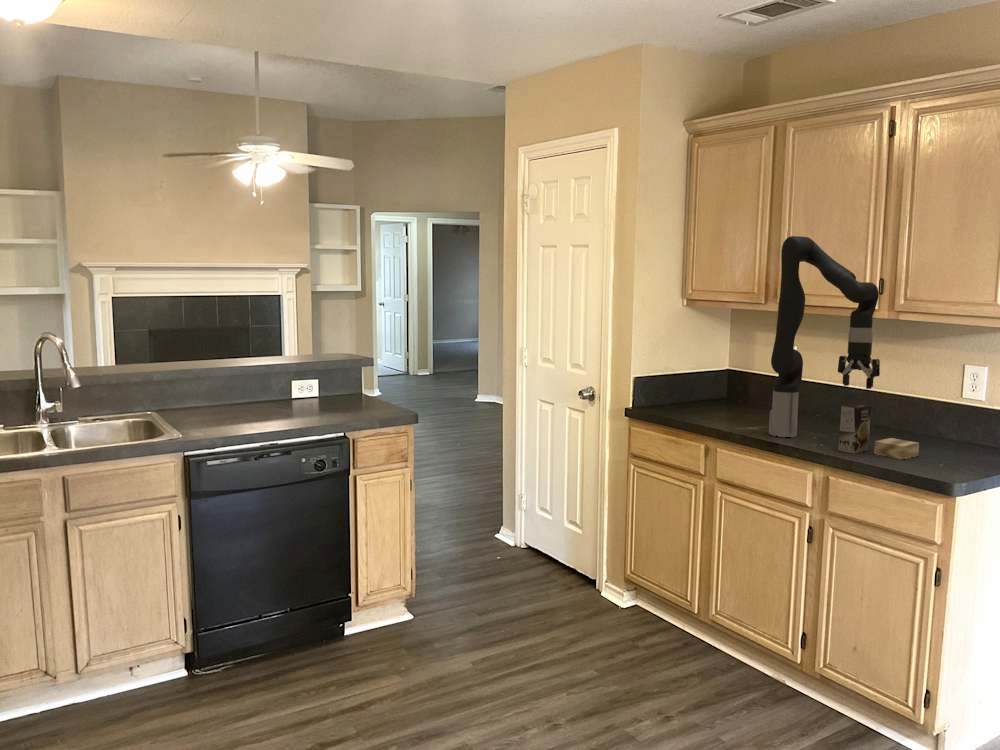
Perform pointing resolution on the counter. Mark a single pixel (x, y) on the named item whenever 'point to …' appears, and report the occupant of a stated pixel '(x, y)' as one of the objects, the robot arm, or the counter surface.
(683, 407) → the counter surface
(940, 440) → the counter surface
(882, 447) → the maple block
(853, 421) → the coffee box
